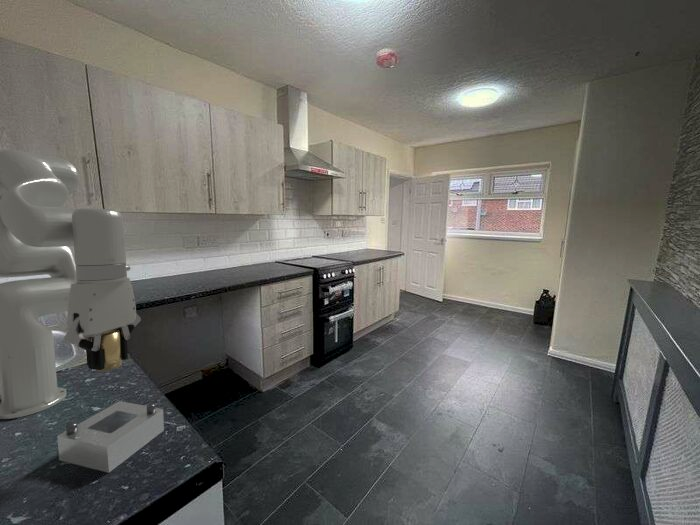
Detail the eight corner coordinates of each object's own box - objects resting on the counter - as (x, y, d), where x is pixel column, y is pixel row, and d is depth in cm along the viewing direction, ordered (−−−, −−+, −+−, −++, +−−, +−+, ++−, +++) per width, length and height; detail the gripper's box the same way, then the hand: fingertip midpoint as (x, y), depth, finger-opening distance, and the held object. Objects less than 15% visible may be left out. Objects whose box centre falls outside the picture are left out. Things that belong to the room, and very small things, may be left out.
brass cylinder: (90, 370, 57) (88, 335, 57) (111, 361, 61) (109, 328, 61) (106, 372, 56) (104, 337, 56) (126, 363, 60) (124, 330, 60)
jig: (59, 460, 56) (56, 427, 56) (120, 421, 68) (119, 394, 67) (108, 472, 54) (106, 439, 53) (164, 430, 65) (162, 402, 65)
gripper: (128, 267, 66) (133, 346, 68) (33, 278, 50) (43, 381, 52) (155, 269, 64) (160, 349, 66) (67, 280, 48) (75, 387, 50)
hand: (108, 362), depth 59 cm, fingers closed on brass cylinder, 4 cm apart
